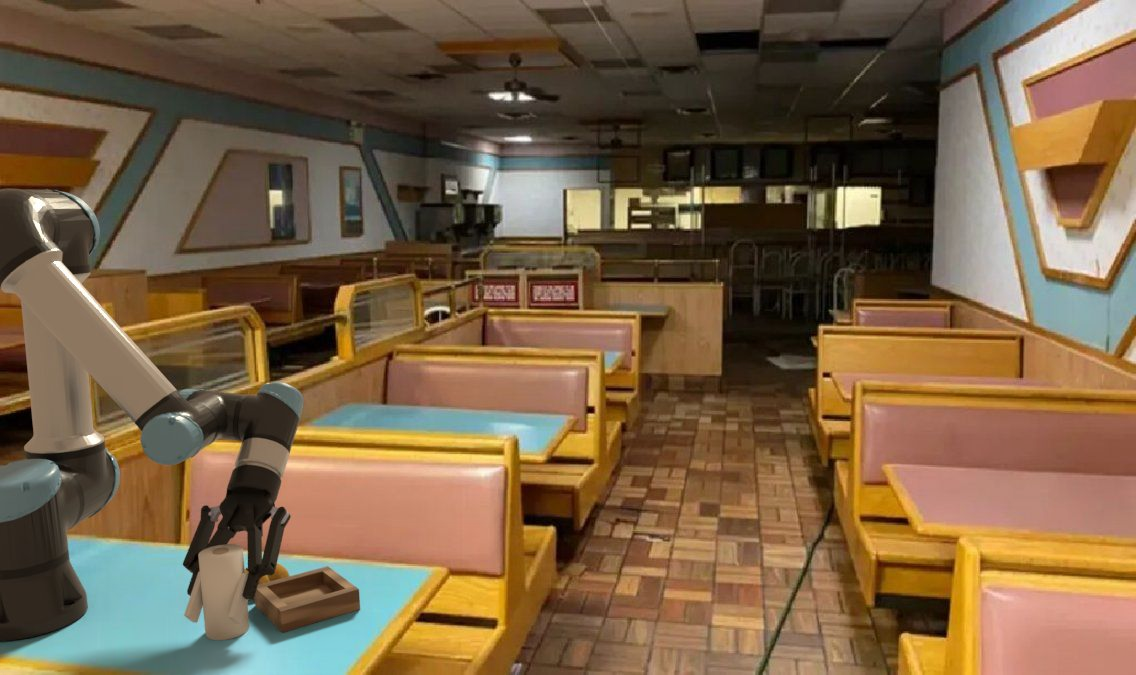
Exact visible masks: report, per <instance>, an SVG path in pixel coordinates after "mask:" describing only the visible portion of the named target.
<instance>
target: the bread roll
mask: <svg viewBox="0 0 1136 675" xmlns="http://www.w3.org/2000/svg"><path fill="white" fill-rule="evenodd" d="M244 570H245V573H247V574H248V573H249V572H248V571H247V570H246V568H244ZM289 576H291V575H290V573H289V571H288V570H287V568H286V567H284V566H283V565H282V564H281V563H278V562H277V565H276V569H275V573H274V574H273V575H265V576H262V577H261V578H260V580H259V583H258V585H259V584H263V583H267V582H270V581H274V580H278V579H282V578H285V577H289ZM254 599H255V597H254Z"/></svg>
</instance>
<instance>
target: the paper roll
mask: <svg viewBox="0 0 1136 675" xmlns="http://www.w3.org/2000/svg"><path fill="white" fill-rule="evenodd" d="M198 558H199V569H200V580H201V590H202V601H203V607H202V609H203V621H204V622H203V623H204V633H205V637H206V638H207V639H209V640H212V641H225V640H226V641H227V640H231V639H234V638H238V637H240V636H242V635H244V634H246V633H247V632H248V631H249V629H250V619H249V618H250V617H249V608H248V606H249V604H247V605H246V609H245V612H244V616H243V619H242V623H241V624H236V623H235V622H233V621H232V620H231V619H230V618H229V617H228V616H229V613H230V609H231V606H232V603H233V599H234V596H235V593H236V590H237V586H238V583H239V580H240V577H241V574H242V573H245V570H244V569H245V560H244V550H243V546H242V545H240V544H234V543H231V544H230V543H229V544H228V543H227V544H224V545H217V546H213V547H209V548H207V549H204V550H202V551H201V552H200V553H199V554H198Z"/></svg>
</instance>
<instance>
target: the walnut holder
mask: <svg viewBox="0 0 1136 675" xmlns="http://www.w3.org/2000/svg"><path fill="white" fill-rule="evenodd" d="M254 597H255V598H254V605H255V608H257V609H258V610H259V611H260V612H261V613H262V614H264V616H265V617H266V618H267V619H268V620H269V621H270V622H271V623H272V624H273V625H274V626H275V627H276V628H278V630H279V631H280V632H282V633H286V632H289V631H293V630H296V629H298V628H299V629H300V628H302V627H305V626H306V627H307V626H309V625H312V624H315V623H319V622H322V621H325V620H328V619H332V618H336V617H338V616H342V615H345V614H349V613H352V612H356V611H359V610H361V600H360V589H359V587H357V586H355V585H354V584H353V583H351V581H348V580H347V579H346V578H344V576H342V575H340V574H339V573H338V572H337V571H335V570H334V569H333V568H331V567H330V566H329V565H326V566H324V567H320V568H316V569H312V570H308V571H304V572H301V573H297V574H294V575H290V576H289V577H285V578H282V579H278V580H274V581H270V582H267V583H263V584H259V585H258V586H257V589H256V593H255V596H254Z"/></svg>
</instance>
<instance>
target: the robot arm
mask: <svg viewBox="0 0 1136 675" xmlns="http://www.w3.org/2000/svg"><path fill="white" fill-rule="evenodd" d="M100 233H101V229H100V225H99V221H98V218H97V216H96V214H95V212H94V210H93V209H92V208H91V207H90V206H89V205H88V204H87V203H86V202H85V201H84V200H83V199H81V198H80V197H78V196H76V195H74V194H73V193H69V192H65V191H60V190H58V189H48V188H45V189H44V188H43V189H26V188H25V189H20V188H2V189H0V290H1V291H2V292H3V293H6V294H15V295H16V296H17V297H18V299H20V305H21V314H22V324H23V336H24V344H25V345H24V347H25V358H26V366H27V367H26V368H27V376H28V379H27V380H28V389H29V400H30V408H31V410H30V411H31V419H32V420H31V421H32V428H33V429H32V430H33V435H32V437H31V439H29V441H28V442H27V443H26V444H25V445H24V446H23V450H24V459H21V460H20V459H19V460H15V461H11V462H8V463H7V464H5V465H0V642H2V641H16V640H22V639H28V638H33V637H36V636H41V635H44V634H48V633H50V632H54V631H57V630H59V629H61V628H64V627H66V626H68V625H71V624H73V623H74V622H75V621H77V620H79V619H80V618H81V617H82V616H84V614H85V613H86V612H87V611H88V609H89V608H88V607H89V604H88V596H87V592H86V589H85V587H84V585H83V584H82V582H81V580H80V578H79V576H78V574H77V572H76V570H75V569H74V567H73V564H72V562H71V560H70V552H69V543H68V541H69V540H68V535H67V534H68V533H67V532H68V531H70V530H71V529H72V528H74V527H76V526H78V525H79V524H81V523H82V522H84V521H85V520H86V519H89V518H92V517H94V516H95V515H97V514H98V513H99V512H101V511H102V509H104V508H105V507H106V505H108V504H109V503H110V502H111V501H112V499H113V498H114V497H115V495H116V493H117V490H118V489H119V486H120V482H121V473H120V472H121V471H120V467H119V464H118V461H117V459H116V457H115V455H113V454H111V453H110V451H109V450H108V448H106V440H105V437H104V435H103V434H101V433H100V432H98V431H97V430H95V428H94V422H93V421H94V420H93V410H92V398H91V397H92V396H91V387H90V386H91V385H90V377H92V379H94V381H95V382H97V384H98V385H99V386H100V387H101V388H102V389H103V390H104V391H105V393H106V394H108V396H109V397H110V398H111V399H112V400H113V401H114V403H116V405H118V407H120V409H121V410H122V411H123V412H124V413H125V415H127V416H128V418H130V420H131V421H132V422H133V423H134V425H136V426H137V428H138V429H139V430H140V431H141V433H140V439H139V440H140V444H141V447H142V451H143V453H144V454H145V455H146V457H147V458H148V459H149V460H151V461H152V462H153V463H156V464H159V465H162V466H173V465H178V464H180V463H182V462H184V461H188V460H189V459H190V458H191V459H192V458H194V457H196V456H197V454H198V453H199V452H200V451H202V450H204V448H206V447H208V446H210V445H212V444H213V443H215V441H217V440H227V441H229V440H230V441H237V442H241V446H240V448H239V451H238V454H237V456H236V460H235V462H234V469H233V470H232V471H231V474H230V478H229V480H228V484H227V488H226V494H225V497H224V498H223V500H222V501H221V503H220V504H219V505H215V506H212V507H209V505H208V504H207V505H203V506H202V507H201V509H200V520H199V522H198V525H197V528H196V530H195V532H194V535H193V536H192V540H191V542H190V545H189V547H188V548H187V551H186V552H187V553H186V554H185V557H184V560H183V562H182V566H183V567H184V568H185V569H186V570H187V571H188V572H190V573H191V574H192V575H191V578H190V581H189V584H188V587H187V589H186V591H187V592H186V593H187V595H188V596H189V599H188V602H187V606H186V609H185V612H184V614H183V616H184V617H185V618H187V620H188V621H190V622H192V623H198V622H199V620H200V619H199V618H200V616H201V612H202V609H203V601H202V590H201V580H200V569H199V558H198V554H199V553H200V552H201V551H202V550H204V549H207V548H209V547H213V546H217V545H224V544H228V543H229V542H230V541H231V539H233V538H234V537H235V536H236V534H237V533H239V532H240V533H241V532H247V534H246V535H247V537H246V538H247V540H246V542H247V567H245V569H246V570H247V571H248V572H249V573H248V574H247V573H242V574H241V577H240V580H239V583H238V586H237V590H236V593H235V596H234V599H233V603H232V606H231V609H230V613H229V616H228V617H229V618H230V619H231V620H232V621H233V622H235V623H236V624H241V623H242V619H243V616H244V612H245V609H246V605H248V603H249V602H248V601H249V600H253V598H254V596H255V593H256V589H257V586H258V583H259V580H260V578H261V577H262V576H265V575H273V574H274V573H275V569H276V565H277V563H278V559H279V555H280V551H281V545H282V541H283V536H284V532H285V528H286V526H287V525H288V523H289V521H290V519H291V514H290V512H288V511H287V509H286V508H285V507H284V506H279V507H277V506H275V505H276V504H275V502H276V501H277V498H278V495H279V493H280V489H281V485H282V478H283V477H284V475H285V470H286V467H287V464H288V460H289V457H290V453H291V450H292V446H293V443H294V440H295V438H296V434H297V431H298V427H299V425H300V423H301V416H302V411H303V407H304V402H305V400H304V396H303V394H302V393H301V392H300V390H298V389H297V388H296V387H294V386H293V385H290V384H288V383H285V382H281V381H272V382H267V383H264V384H262V385H261V386H260V388H259V389H258V391H257V393H256V395H255V394H243V393H242V394H240V393H231V392H224V391H216V390H215V391H213V390H208V389H205V388H198V389H193V388H191V389H189V388H186V389H185V388H184V389H182V390H180V391H179V390H177V388H175V386H174V385H173V384H172V383H171V381H169V380H168V379H167V377H166V376H165V375H164V374H163V373H162V372H161V370H159V369H158V367H157V366H156V365H155V364H154V363H153V362H152V361H151V360H150V358H149V357H148V356H147V355H146V354H145V353H144V352H143V350H141V348H140V347H139V346H138V345H137V344H136V343H135V341H133V339H132V338H131V337H130V336H129V335H128V333H126V332H125V331H124V330H123V328H122V327H121V326H120V325H119V324H118V323H117V322H116V320H114V318H113V317H112V316H111V315H110V314H109V313H108V311H106V310H105V309H104V307H103V306H102V305H101V304H100V302H98V301H97V299H96V298H95V297H94V296H93V295H92V293H90V292H89V290H88V289H87V288H85V286H84V285H83V283H84V282H85V280H87V278H89V276H90V275H91V264H90V256H91V255H92V253H93V252H94V251H95V249H97V246H98V244H99V242H100V236H101V234H100ZM220 515H221V516H222V518H221V519H220V520H219V517H220ZM269 519H271V520H270V523H269V528H268V532H267V536H266V540H265V544H264V549H263V543H262V542H263V540H262V538H263V535H264V532H263V530H264V528H263V526H264V524H265V522H266V521H267V520H269ZM218 522H219V523H218ZM216 523H218V524H217V529H216V531H215V533H214V534H213V532H214V529H215V527H216ZM212 534H213V535H212ZM254 599H255V598H254Z"/></svg>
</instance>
